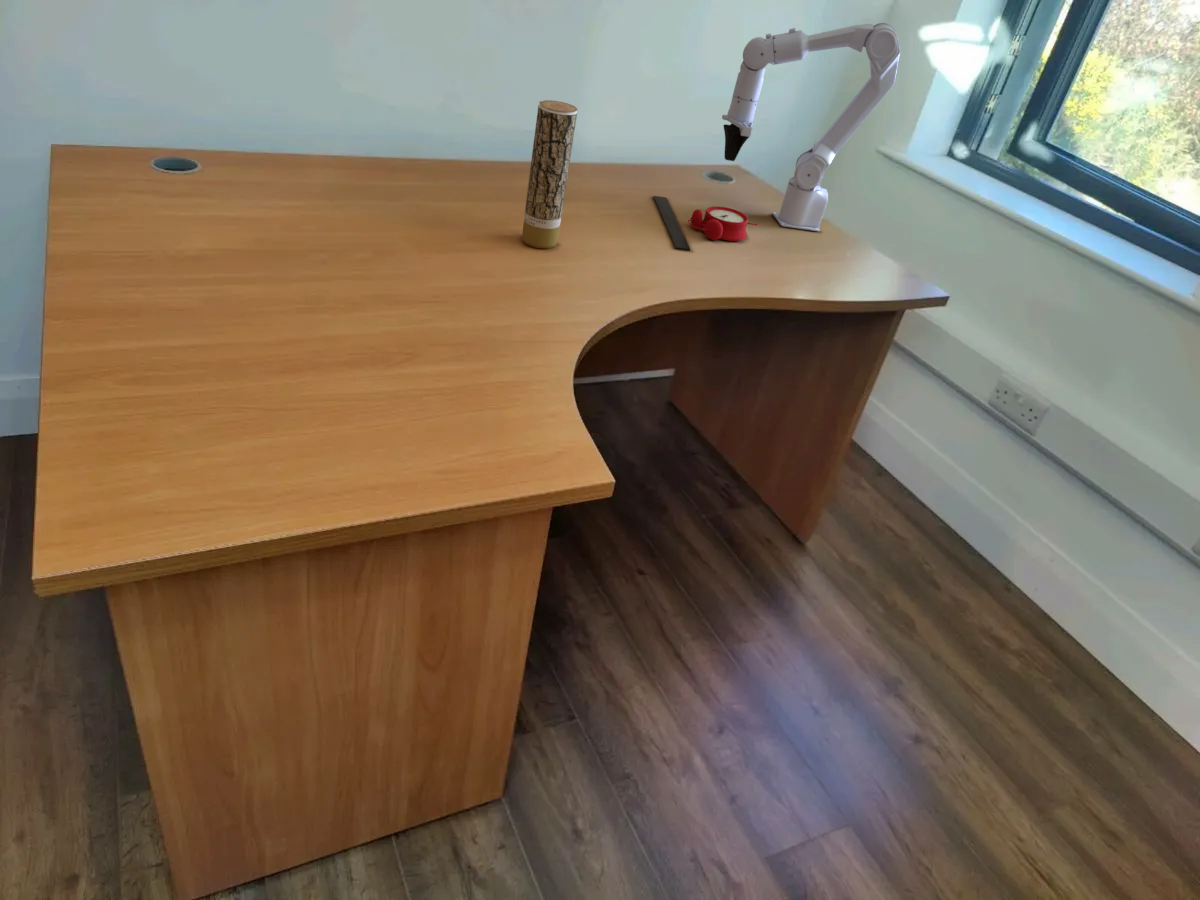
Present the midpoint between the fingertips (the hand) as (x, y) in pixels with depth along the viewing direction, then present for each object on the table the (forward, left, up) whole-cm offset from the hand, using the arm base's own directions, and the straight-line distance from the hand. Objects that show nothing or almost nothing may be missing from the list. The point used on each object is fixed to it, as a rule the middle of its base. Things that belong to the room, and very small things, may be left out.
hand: (729, 159), depth 191 cm
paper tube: (+44, +38, -11) cm, 59 cm away
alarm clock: (+5, +20, -11) cm, 23 cm away
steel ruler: (+14, +17, -10) cm, 25 cm away
